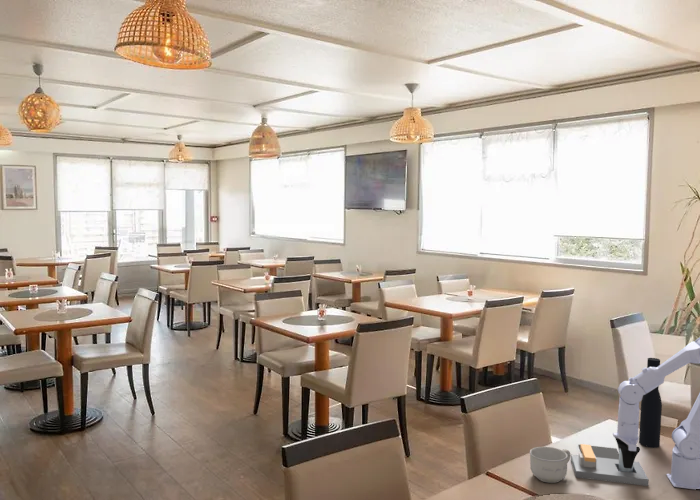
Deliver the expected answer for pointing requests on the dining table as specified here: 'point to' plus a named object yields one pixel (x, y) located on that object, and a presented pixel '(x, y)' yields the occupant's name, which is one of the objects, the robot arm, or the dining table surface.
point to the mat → (604, 452)
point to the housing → (607, 470)
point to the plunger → (587, 453)
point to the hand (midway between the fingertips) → (625, 464)
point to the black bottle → (651, 414)
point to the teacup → (549, 463)
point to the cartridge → (621, 467)
